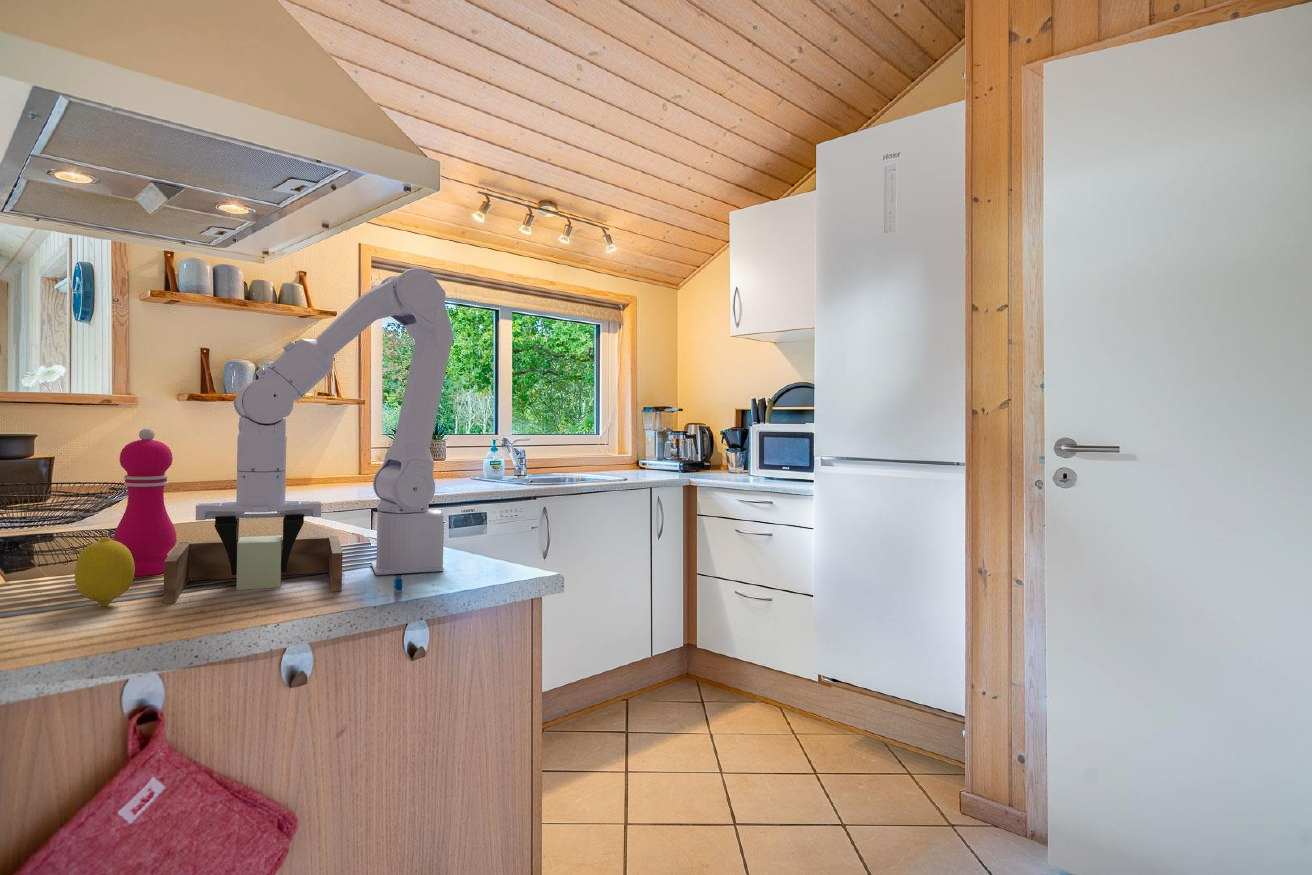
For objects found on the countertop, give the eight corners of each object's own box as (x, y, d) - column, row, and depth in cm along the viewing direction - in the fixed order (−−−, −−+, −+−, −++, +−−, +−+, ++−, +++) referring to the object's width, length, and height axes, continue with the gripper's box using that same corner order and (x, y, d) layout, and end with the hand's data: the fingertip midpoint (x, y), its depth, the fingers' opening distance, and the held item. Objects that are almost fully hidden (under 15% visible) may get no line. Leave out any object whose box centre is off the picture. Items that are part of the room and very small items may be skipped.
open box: (337, 570, 105) (337, 536, 105) (341, 590, 94) (342, 552, 93) (179, 579, 96) (179, 542, 96) (163, 603, 85) (164, 561, 85)
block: (281, 578, 99) (282, 535, 99) (280, 587, 94) (281, 541, 94) (239, 581, 97) (240, 537, 96) (236, 589, 92) (237, 543, 92)
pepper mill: (160, 563, 105) (162, 427, 104) (186, 570, 101) (188, 429, 100) (102, 572, 98) (104, 427, 98) (128, 580, 95) (130, 429, 94)
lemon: (82, 615, 79) (83, 543, 79) (67, 605, 83) (68, 536, 82) (141, 605, 84) (142, 537, 83) (125, 596, 87) (125, 531, 87)
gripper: (193, 473, 88) (191, 582, 89) (322, 472, 95) (320, 574, 95) (200, 468, 94) (198, 570, 95) (321, 468, 101) (319, 563, 101)
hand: (259, 571), depth 95 cm, fingers closed on block, 5 cm apart
